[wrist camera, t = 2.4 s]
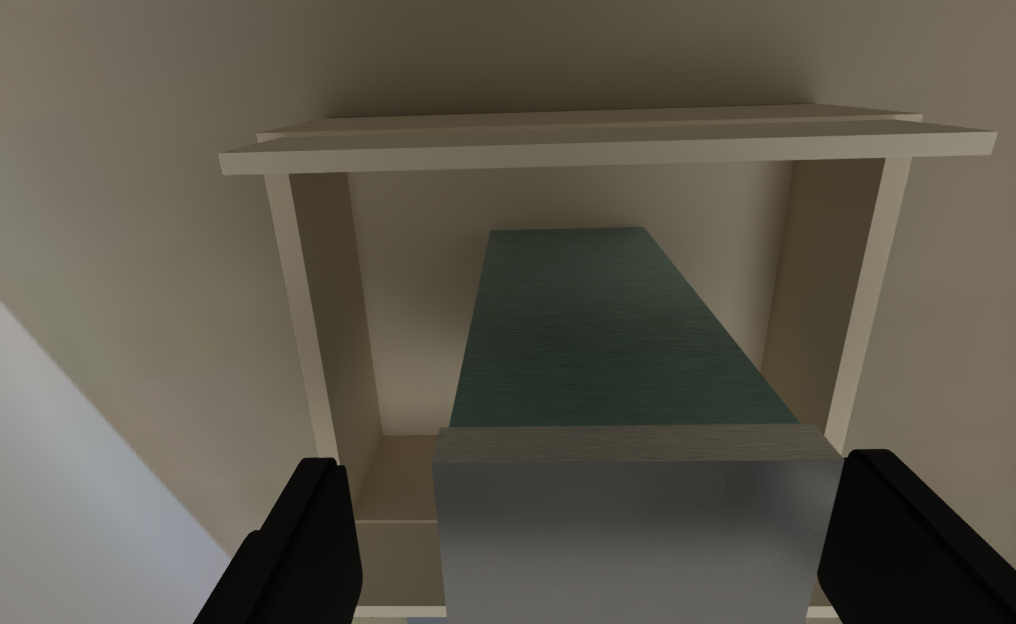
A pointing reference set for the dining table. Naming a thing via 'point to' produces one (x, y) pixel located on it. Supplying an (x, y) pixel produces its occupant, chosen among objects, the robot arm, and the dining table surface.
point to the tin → (619, 450)
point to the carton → (567, 205)
